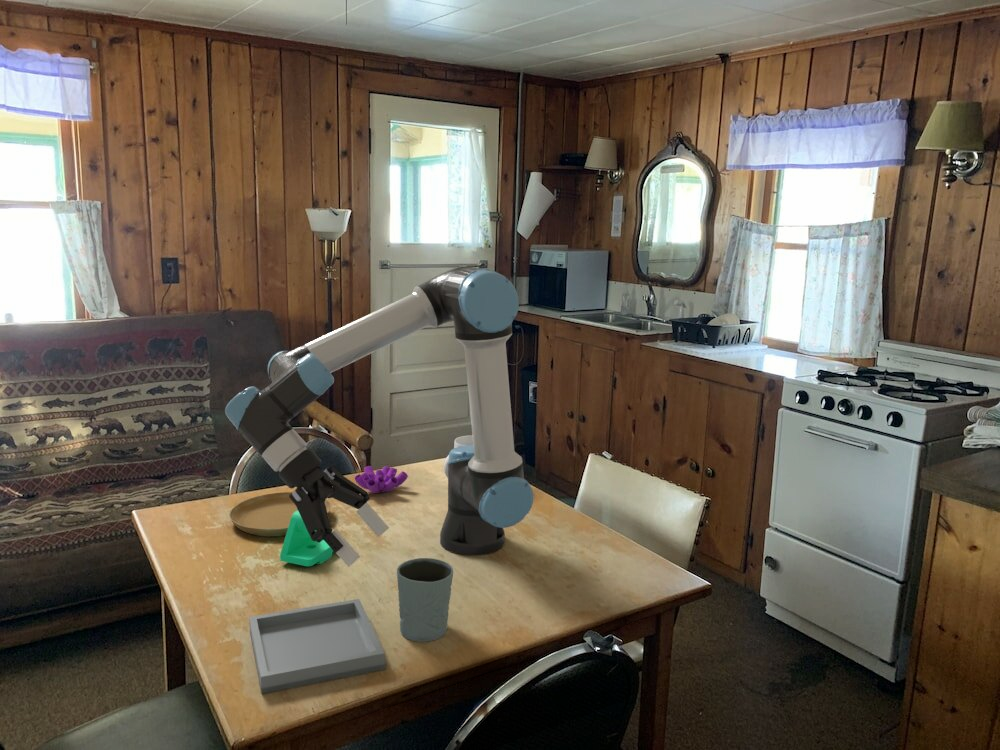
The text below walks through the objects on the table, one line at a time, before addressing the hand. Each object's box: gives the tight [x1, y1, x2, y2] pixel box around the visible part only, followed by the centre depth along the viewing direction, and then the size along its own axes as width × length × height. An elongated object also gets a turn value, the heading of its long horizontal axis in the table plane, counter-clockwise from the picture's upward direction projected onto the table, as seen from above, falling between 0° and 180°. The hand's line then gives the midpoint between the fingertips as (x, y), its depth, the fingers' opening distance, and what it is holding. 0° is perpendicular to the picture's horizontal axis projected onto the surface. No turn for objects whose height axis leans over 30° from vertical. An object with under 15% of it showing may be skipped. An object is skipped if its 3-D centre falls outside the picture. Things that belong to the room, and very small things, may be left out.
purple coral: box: [354, 465, 409, 494], centre depth 214 cm, size 11×15×10 cm
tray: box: [248, 598, 386, 695], centre depth 136 cm, size 20×20×3 cm
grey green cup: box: [396, 557, 454, 643], centre depth 143 cm, size 10×10×12 cm
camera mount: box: [279, 511, 334, 567], centre depth 172 cm, size 12×8×10 cm, turn 159°
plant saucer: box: [228, 491, 332, 537], centre depth 193 cm, size 24×24×3 cm
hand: (370, 546), depth 143 cm, fingers open, 13 cm apart
